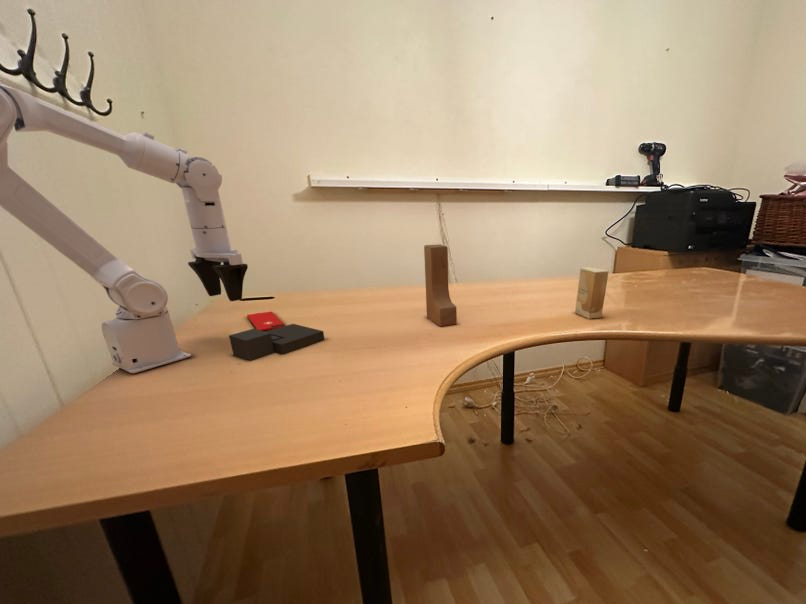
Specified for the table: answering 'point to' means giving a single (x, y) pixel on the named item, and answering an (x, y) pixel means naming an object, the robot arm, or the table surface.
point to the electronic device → (265, 321)
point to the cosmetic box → (591, 292)
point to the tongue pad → (252, 344)
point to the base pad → (294, 337)
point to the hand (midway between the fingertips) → (225, 297)
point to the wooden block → (438, 286)
